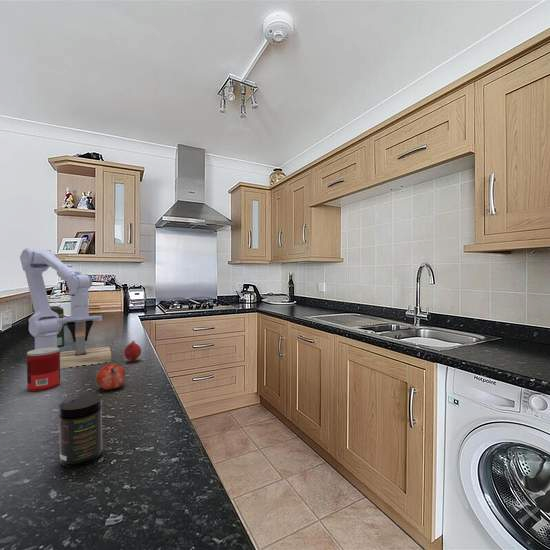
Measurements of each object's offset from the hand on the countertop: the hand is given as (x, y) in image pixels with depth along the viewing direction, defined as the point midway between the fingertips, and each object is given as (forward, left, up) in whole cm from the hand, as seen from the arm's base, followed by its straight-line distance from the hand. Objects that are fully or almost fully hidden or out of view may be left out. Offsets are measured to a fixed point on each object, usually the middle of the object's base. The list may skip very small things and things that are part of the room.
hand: (80, 341), depth 119 cm
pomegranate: (+37, +8, -8) cm, 39 cm away
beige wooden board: (0, 0, -8) cm, 8 cm away
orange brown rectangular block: (0, 0, -4) cm, 4 cm away
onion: (+11, +17, -8) cm, 22 cm away
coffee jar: (-37, -11, -8) cm, 39 cm away
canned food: (+25, -9, -8) cm, 28 cm away
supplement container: (+73, +1, -8) cm, 73 cm away
